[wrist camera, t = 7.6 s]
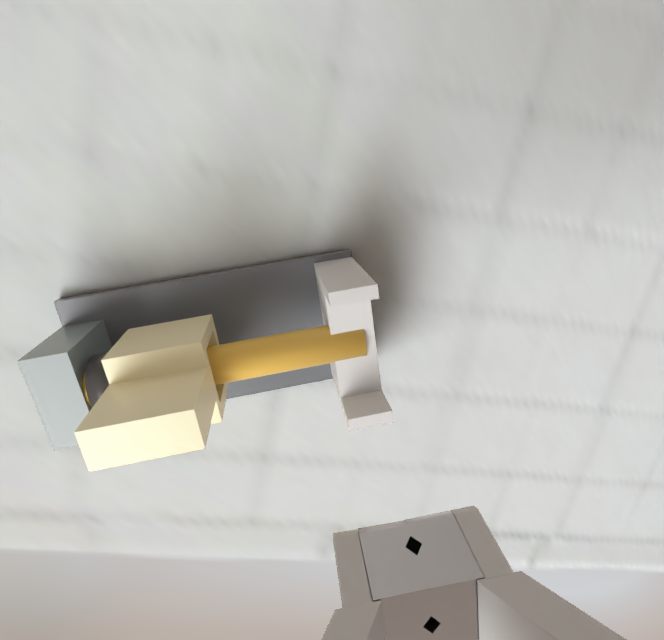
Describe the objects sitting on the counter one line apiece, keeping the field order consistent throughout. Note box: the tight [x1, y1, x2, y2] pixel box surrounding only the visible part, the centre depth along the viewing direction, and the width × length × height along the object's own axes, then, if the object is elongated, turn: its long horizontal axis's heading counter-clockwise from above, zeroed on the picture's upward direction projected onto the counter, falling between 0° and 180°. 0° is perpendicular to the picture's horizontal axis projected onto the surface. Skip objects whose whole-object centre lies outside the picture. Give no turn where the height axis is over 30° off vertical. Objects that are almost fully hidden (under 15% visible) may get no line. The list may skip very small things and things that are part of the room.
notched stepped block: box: [74, 314, 229, 472], centre depth 19 cm, size 4×4×7 cm
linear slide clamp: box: [17, 249, 394, 451], centre depth 22 cm, size 15×7×7 cm, turn 98°
